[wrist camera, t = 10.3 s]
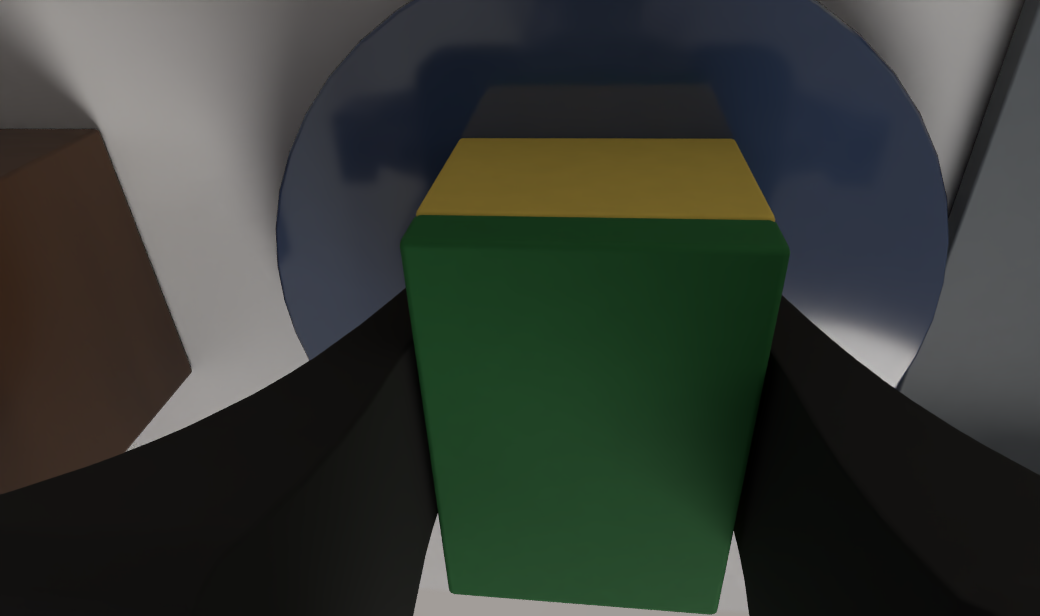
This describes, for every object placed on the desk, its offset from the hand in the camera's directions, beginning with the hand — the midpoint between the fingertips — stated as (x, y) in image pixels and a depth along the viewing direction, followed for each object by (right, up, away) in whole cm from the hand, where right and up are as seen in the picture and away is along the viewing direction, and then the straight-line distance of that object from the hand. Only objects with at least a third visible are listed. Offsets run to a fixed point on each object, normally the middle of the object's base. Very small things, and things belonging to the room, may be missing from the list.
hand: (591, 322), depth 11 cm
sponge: (0, 0, 0) cm, 0 cm away
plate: (0, +1, +1) cm, 2 cm away
